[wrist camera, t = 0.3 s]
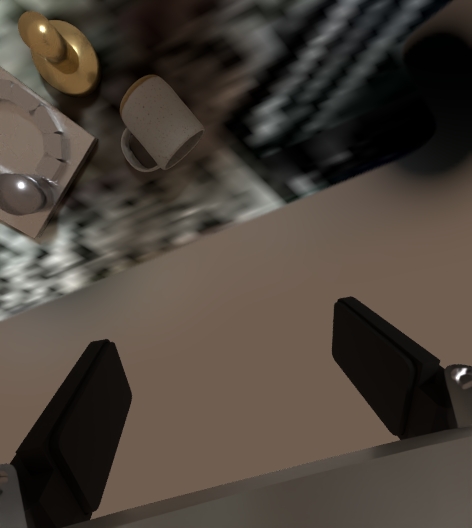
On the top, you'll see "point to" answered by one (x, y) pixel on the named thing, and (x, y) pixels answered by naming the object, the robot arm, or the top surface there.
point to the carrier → (35, 156)
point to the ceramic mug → (158, 123)
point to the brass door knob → (61, 54)
